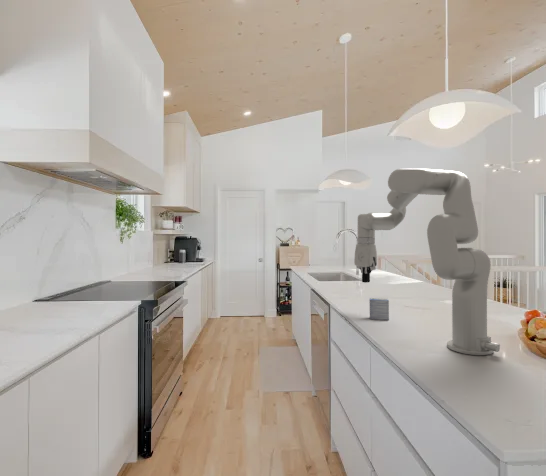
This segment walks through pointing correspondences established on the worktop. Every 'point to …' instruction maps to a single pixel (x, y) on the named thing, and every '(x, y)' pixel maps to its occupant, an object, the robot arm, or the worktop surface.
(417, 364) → the worktop surface
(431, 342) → the worktop surface
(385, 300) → the medicine box
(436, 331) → the worktop surface
